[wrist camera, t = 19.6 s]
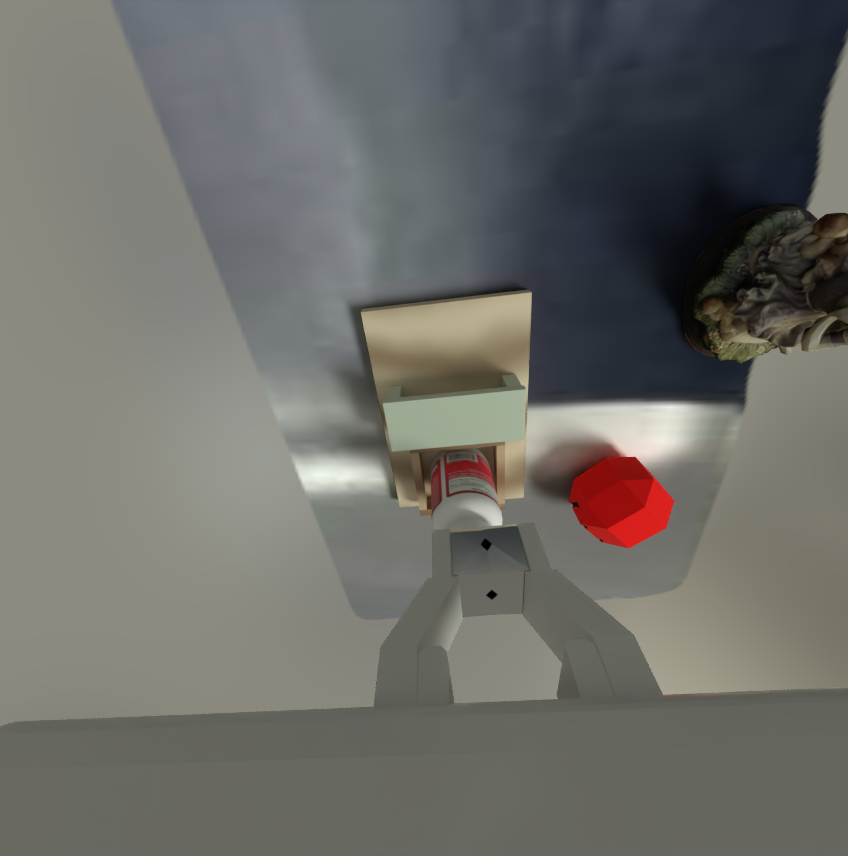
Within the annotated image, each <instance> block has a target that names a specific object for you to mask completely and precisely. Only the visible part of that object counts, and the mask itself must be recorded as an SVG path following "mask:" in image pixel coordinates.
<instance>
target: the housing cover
mask: <svg viewBox="0 0 848 856" xmlns="http://www.w3.org/2000/svg"><path fill="white" fill-rule="evenodd" d="M383 408H384V413H385V418H386V423H387V429H388V434H389V439H390V444H391V449H392V452H394V451H405V450H416V449H427V448H438V447H450V446H461V445H472V444H483V443H494V442H505V441H517V440H524V437H525V410H526V388H525V386H524V385H521V383H520V381H519V380H518V378H517V376H516V374H509V375H502V387H501V388H491V389H481V390H471V391H461V392H451V393H441V394H430V395H420V396H410V397H403V392H402V386H391V387H388V392H387V396H386V399H384V400H383Z"/></svg>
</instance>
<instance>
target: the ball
mask: <svg viewBox="0 0 848 856" xmlns="http://www.w3.org/2000/svg"><path fill="white" fill-rule="evenodd" d="M569 502H570V503H572V504H573V507H572V508H573V510H574V512H575V514H576V516H577V518H578V520H579V522H580V524H581V525H583V526H584V527H585V528H586V529H587V530H588V531H589V532H590V533H592V534H593V535H594V536H595V537H596V538H598V539H600V541H601V542H604V543H608V544H612V545H617V546H621V547H626V548H630V547H632V546H634V545H636V544H638V543H640V542H641V541H643V540H645V539H647V538H649V537H651V536H653V535H654V534H656V533H658V532H660V531H662V530H664V529H665V528H666V527H667V523H668V520H669V517H670V513H671V510H672V506H673V503H674V500H673V499H672V497H671V496H670V495H669V494H668V493H667V492H666V490H665V489H664V488H663V487H662V486H661V484H660V483H659V482H658V481H657V480H656V479H655V477H654V476H653V475H652V474H651V473H650V472H649V471H648V470H647V469H646V468H645V467H644V466H643V465H642V464H641V462H640V461H639V460H638V459H637V458H636V457H607V458H605V459H603V460H602V461H600V462H599V463H597V464H596V465H594V466H593V467H591V468H590V469H588V470H587V471H585V472H584V473H582V474H581V475H579V476H578V477H576V478H575V479H574V480H573V485H572V489H571V493H570V497H569Z"/></svg>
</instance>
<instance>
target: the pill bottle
mask: <svg viewBox="0 0 848 856" xmlns="http://www.w3.org/2000/svg"><path fill="white" fill-rule="evenodd" d="M431 510H432V527H433V530H441V529H449V530H450V529H456V528H477V527H486V526H498V525H502V514H501V509H500V505H499V501H498V497H497V493H496V490H495V486H494V482H493V478H492V474H491V470H490V466H489V463H488V461H487V459H486V457H485V456H484V454H483V453H482V452H480V451H479V450H478V449H476V448H466V449H455V450H444V451H442V452H440V453H439V454H438V455H437V456H436V457H435V459H434V460H433V462H432V465H431Z"/></svg>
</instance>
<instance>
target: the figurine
mask: <svg viewBox="0 0 848 856" xmlns="http://www.w3.org/2000/svg"><path fill="white" fill-rule="evenodd" d="M683 332H684V336H685V338H686V340H687V342H688V343H689V344H690V346H691V347H692V348H694V349H695V350H697V351H698V352H700V353H701V354H703V355H706V356H709V357H714V358H717V359H718V360H726V359H728V360H734V361H735V362H737V363H740V364H741V363H742V362H744V361H746V360H748V359H751V358H753V357H755V356H757V355H763V354H764V353H767V352H769V351H770V350H771V349H774V348H777V347H779V348H780V351H781V353H784V354H786V355H787V354H789V353H791V349H792V347H795V346H799V345H801V346H802V351H807V352H811V351H816V350H822V349H827V348H834V347H837V346H840V345H848V214H847V213H834V214H826V215H824V216H823V217H822V218H820V219H819V220H817V218H816V217H814V215H812V214H811V213H810V212H809V211H807V210H806V209H804V208H802V207H797V206H790V205H775V206H769V207H764V208H760V209H756V210H754V211H751V212H748V213H746V214H744V215H742V216H740V217H739V218H737V219H735V220H734V221H732V222H731V223H730V224H728V225H727V226H726V227H725V228H723V229H722V230H721V231H720V232H719V233H718V234H716V235H715V236H714V237H713V238H712V239H711V240H710V241H709V242H708V243H707V245H706V246H705V247H704V248H703V249H702V251H701V252H700V254H699V255H698V257H697V258H696V260H695V261H694V263H693V265H692V267H691V269H690V271H689V274H688V277H687V280H686V286H685V291H684V300H683Z"/></svg>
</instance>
